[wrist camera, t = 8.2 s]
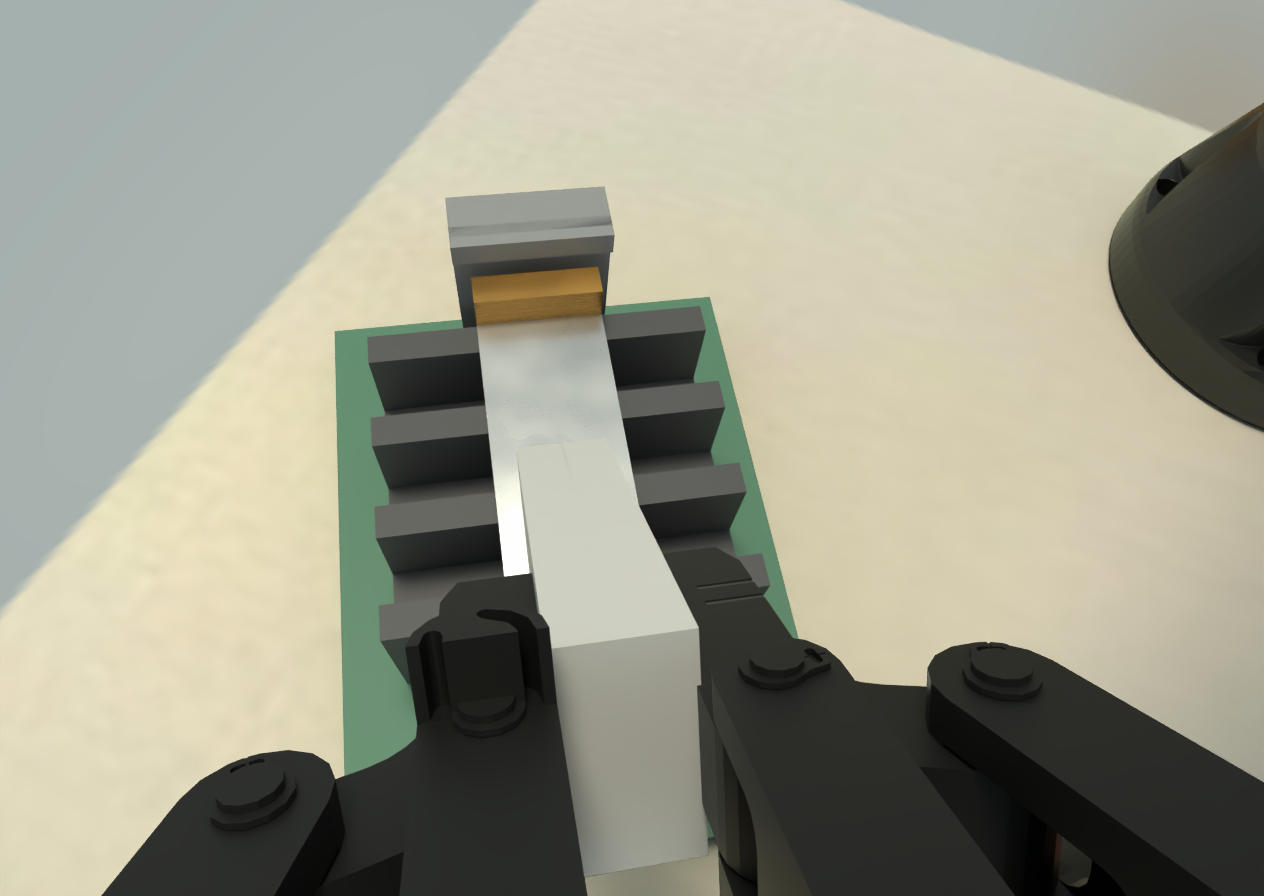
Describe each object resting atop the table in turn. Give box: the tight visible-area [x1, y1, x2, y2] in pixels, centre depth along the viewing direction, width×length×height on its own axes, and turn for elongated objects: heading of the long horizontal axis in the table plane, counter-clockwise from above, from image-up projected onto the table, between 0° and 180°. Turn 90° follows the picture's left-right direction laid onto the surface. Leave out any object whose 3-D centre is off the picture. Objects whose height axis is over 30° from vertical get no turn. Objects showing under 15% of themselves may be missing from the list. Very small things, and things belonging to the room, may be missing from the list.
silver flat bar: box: [471, 267, 639, 576], centre depth 25 cm, size 4×15×2 cm, turn 10°
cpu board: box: [335, 187, 798, 839], centre depth 28 cm, size 15×20×10 cm
